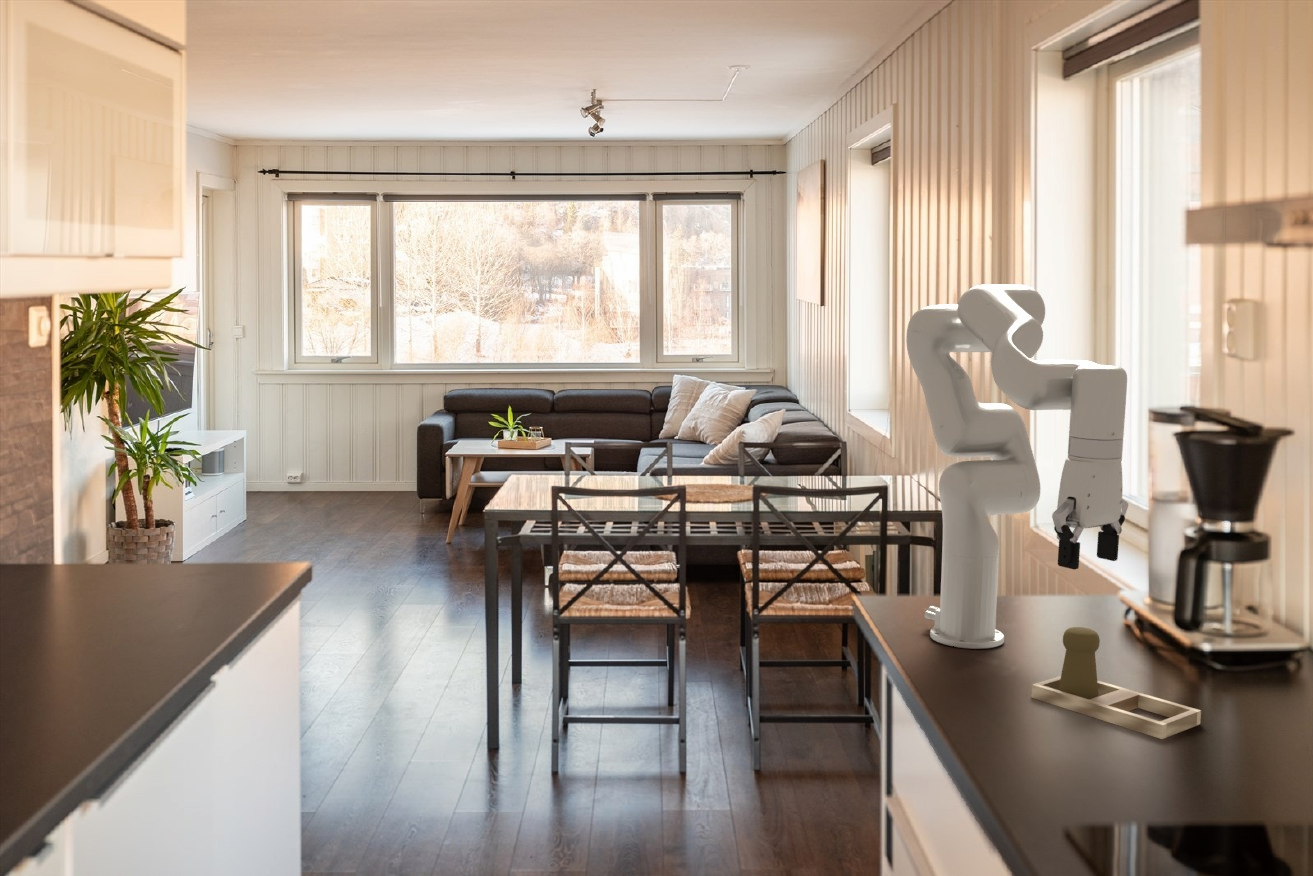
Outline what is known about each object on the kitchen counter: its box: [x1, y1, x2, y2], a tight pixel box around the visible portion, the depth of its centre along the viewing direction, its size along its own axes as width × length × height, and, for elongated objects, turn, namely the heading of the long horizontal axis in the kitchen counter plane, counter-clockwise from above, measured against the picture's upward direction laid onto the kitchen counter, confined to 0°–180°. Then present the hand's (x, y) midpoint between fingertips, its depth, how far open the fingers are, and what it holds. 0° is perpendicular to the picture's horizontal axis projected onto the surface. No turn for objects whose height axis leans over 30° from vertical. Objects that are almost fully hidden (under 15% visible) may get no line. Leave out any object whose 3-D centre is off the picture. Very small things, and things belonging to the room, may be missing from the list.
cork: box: [1058, 626, 1101, 700], centre depth 179 cm, size 6×6×11 cm
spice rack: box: [1030, 675, 1202, 740], centre depth 175 cm, size 21×10×2 cm, turn 37°
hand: (1087, 563), depth 179 cm, fingers open, 9 cm apart
